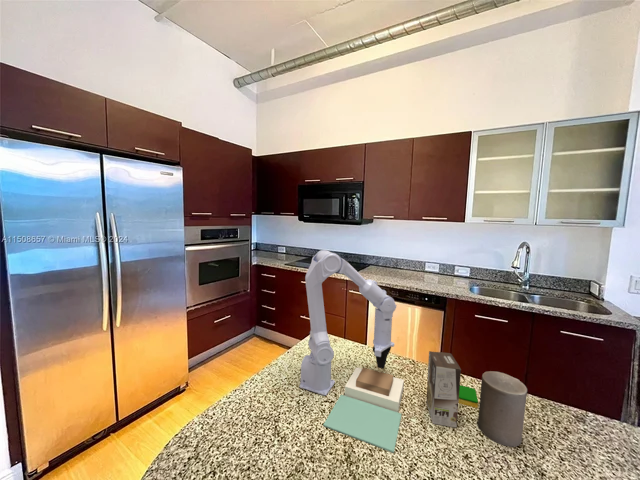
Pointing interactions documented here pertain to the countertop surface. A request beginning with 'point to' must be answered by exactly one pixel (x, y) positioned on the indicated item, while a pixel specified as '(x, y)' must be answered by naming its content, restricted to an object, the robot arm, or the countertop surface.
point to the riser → (372, 397)
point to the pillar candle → (502, 408)
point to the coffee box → (443, 388)
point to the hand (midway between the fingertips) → (381, 367)
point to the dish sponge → (468, 396)
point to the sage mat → (365, 422)
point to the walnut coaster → (375, 381)
